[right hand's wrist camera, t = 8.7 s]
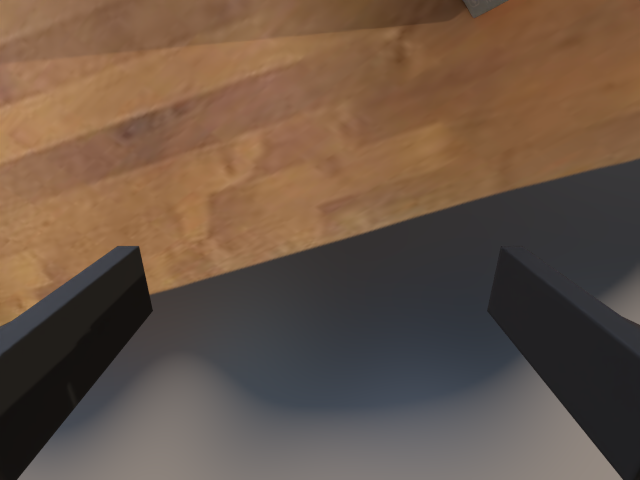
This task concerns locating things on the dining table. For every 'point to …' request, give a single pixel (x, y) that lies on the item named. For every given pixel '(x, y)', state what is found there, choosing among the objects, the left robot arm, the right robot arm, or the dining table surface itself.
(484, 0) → the hard drive box
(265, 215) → the dining table surface
